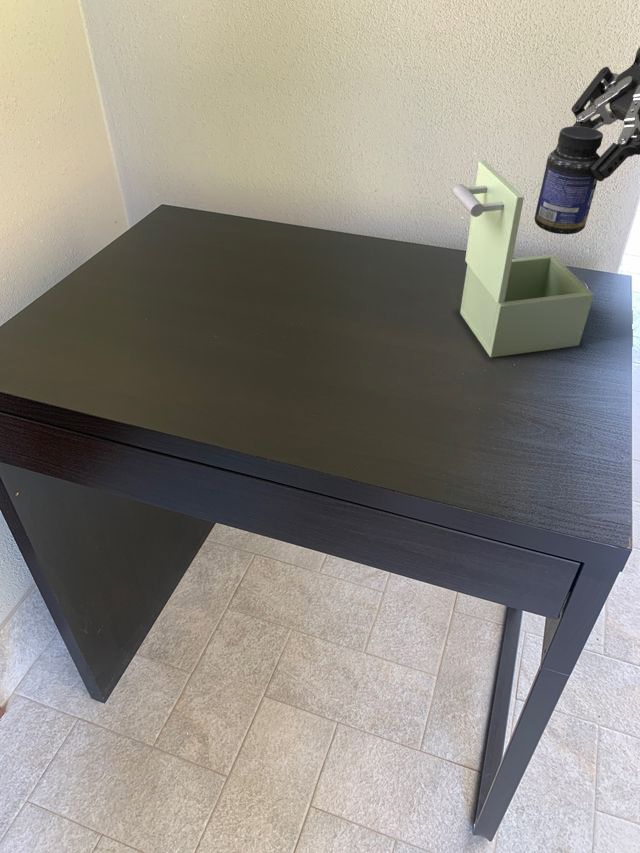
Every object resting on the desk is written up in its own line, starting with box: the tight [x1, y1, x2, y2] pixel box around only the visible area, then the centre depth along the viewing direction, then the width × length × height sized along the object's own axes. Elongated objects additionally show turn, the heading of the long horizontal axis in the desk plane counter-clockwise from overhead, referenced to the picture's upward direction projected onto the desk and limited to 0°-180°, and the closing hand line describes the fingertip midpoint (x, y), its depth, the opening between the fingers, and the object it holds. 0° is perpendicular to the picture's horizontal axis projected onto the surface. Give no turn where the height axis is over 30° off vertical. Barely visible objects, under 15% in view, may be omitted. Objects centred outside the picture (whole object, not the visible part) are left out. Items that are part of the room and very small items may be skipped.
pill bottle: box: [534, 125, 604, 235], centre depth 81 cm, size 6×6×11 cm
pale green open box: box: [459, 253, 595, 358], centre depth 93 cm, size 13×11×8 cm
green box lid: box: [452, 160, 525, 303], centre depth 85 cm, size 14×11×5 cm
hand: (577, 165), depth 80 cm, fingers closed on pill bottle, 6 cm apart
